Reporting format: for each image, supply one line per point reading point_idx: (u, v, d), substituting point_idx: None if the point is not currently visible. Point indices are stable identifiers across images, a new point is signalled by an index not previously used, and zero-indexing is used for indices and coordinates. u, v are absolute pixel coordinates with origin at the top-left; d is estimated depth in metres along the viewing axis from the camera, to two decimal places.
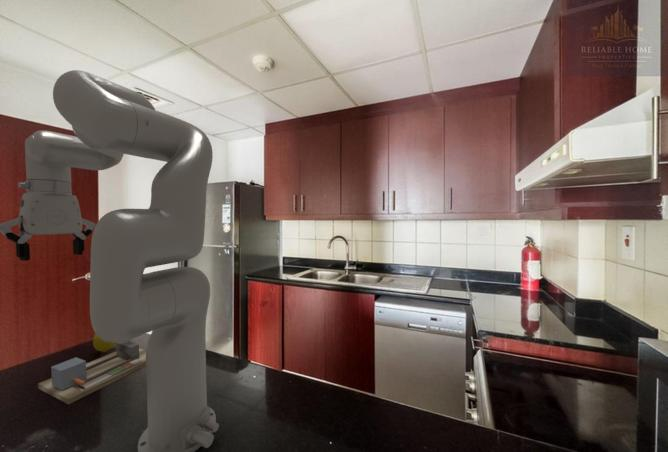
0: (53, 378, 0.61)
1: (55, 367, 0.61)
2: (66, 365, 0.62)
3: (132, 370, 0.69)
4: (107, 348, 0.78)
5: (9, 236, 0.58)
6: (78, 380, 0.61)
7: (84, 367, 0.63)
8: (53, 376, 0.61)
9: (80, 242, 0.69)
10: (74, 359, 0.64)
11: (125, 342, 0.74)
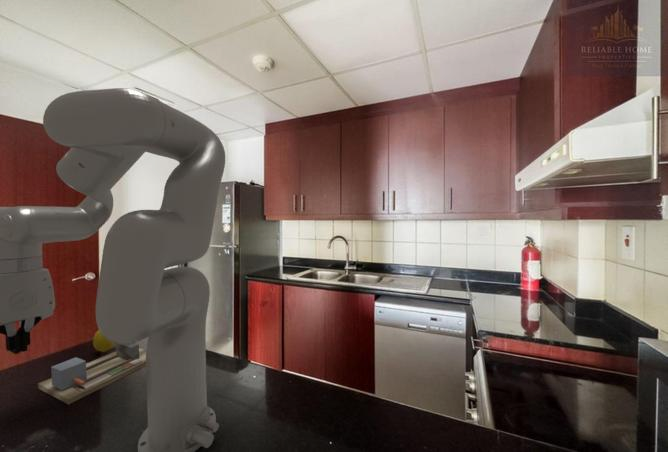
0: (53, 378, 0.61)
1: (55, 367, 0.61)
2: (66, 365, 0.62)
3: (132, 370, 0.69)
4: (107, 348, 0.78)
5: None
6: (78, 380, 0.61)
7: (84, 367, 0.63)
8: (53, 376, 0.61)
9: (24, 336, 0.55)
10: (74, 359, 0.64)
11: None
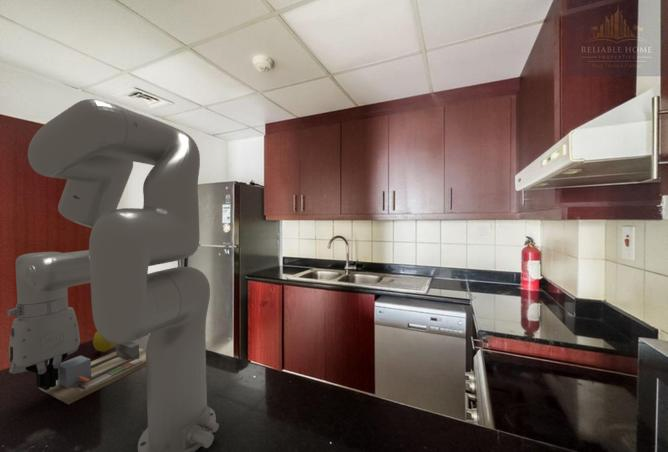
0: (59, 376, 0.62)
1: (61, 365, 0.61)
2: (71, 363, 0.63)
3: (132, 370, 0.69)
4: (107, 348, 0.78)
5: (30, 369, 0.56)
6: (83, 378, 0.61)
7: (89, 365, 0.64)
8: (58, 374, 0.62)
9: (53, 373, 0.59)
10: (79, 357, 0.65)
11: None
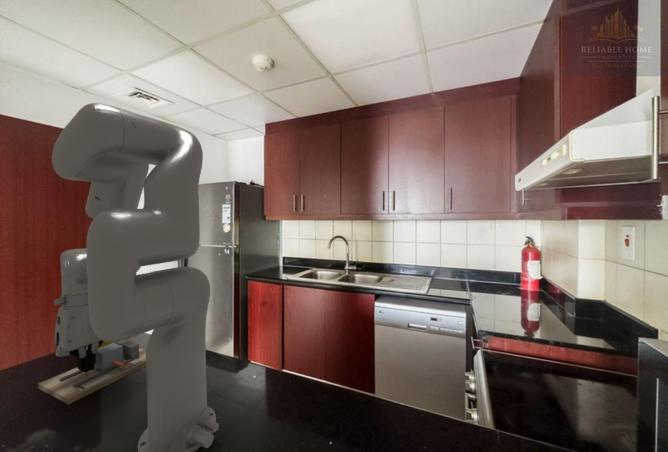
0: None
1: (97, 351, 0.68)
2: (106, 349, 0.69)
3: (132, 370, 0.69)
4: None
5: (73, 353, 0.62)
6: (117, 362, 0.68)
7: (121, 351, 0.70)
8: None
9: (91, 357, 0.65)
10: (112, 344, 0.71)
11: (125, 342, 0.74)
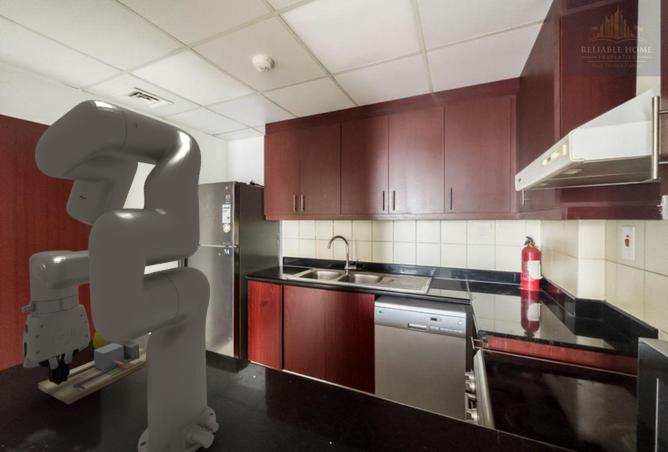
0: (96, 360, 0.68)
1: (98, 351, 0.68)
2: (107, 349, 0.69)
3: (132, 370, 0.69)
4: None
5: (42, 364, 0.58)
6: (118, 362, 0.68)
7: (122, 351, 0.71)
8: (96, 358, 0.68)
9: (64, 368, 0.60)
10: (112, 344, 0.72)
11: (125, 342, 0.74)
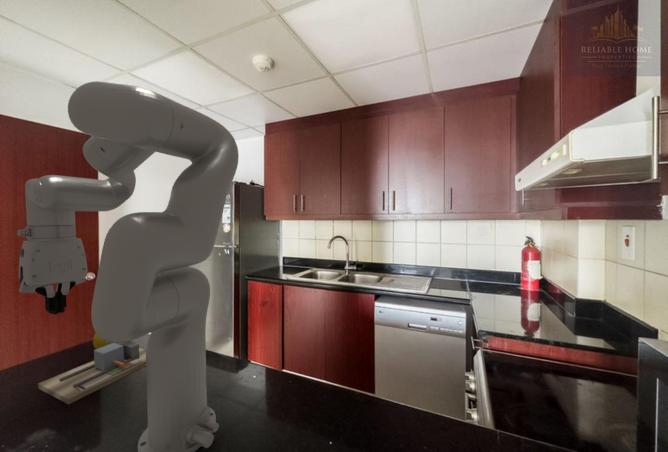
0: (96, 360, 0.68)
1: (98, 351, 0.68)
2: (107, 349, 0.69)
3: (132, 370, 0.69)
4: None
5: (39, 291, 0.57)
6: (118, 362, 0.68)
7: (122, 351, 0.71)
8: (96, 358, 0.68)
9: (61, 298, 0.60)
10: (112, 344, 0.72)
11: (125, 342, 0.74)
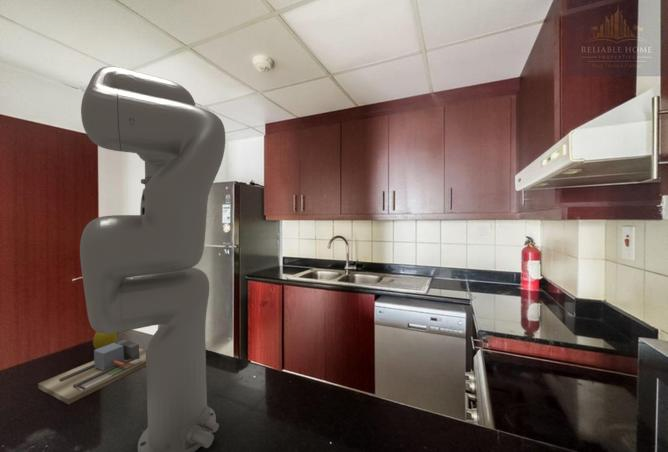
0: (96, 360, 0.68)
1: (98, 351, 0.68)
2: (107, 349, 0.69)
3: (132, 370, 0.69)
4: None
5: None
6: (118, 362, 0.68)
7: (122, 351, 0.71)
8: (96, 358, 0.68)
9: None
10: (112, 344, 0.72)
11: (125, 342, 0.74)
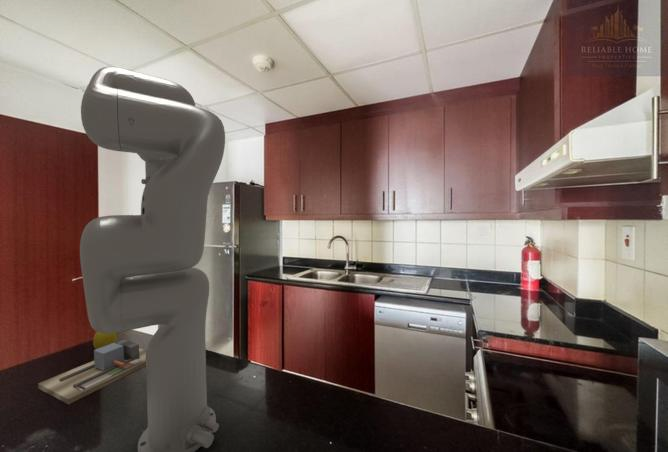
0: (96, 360, 0.68)
1: (98, 351, 0.68)
2: (107, 349, 0.69)
3: (132, 370, 0.69)
4: None
5: None
6: (118, 362, 0.68)
7: (122, 351, 0.71)
8: (96, 358, 0.68)
9: None
10: (112, 344, 0.72)
11: (125, 342, 0.74)
